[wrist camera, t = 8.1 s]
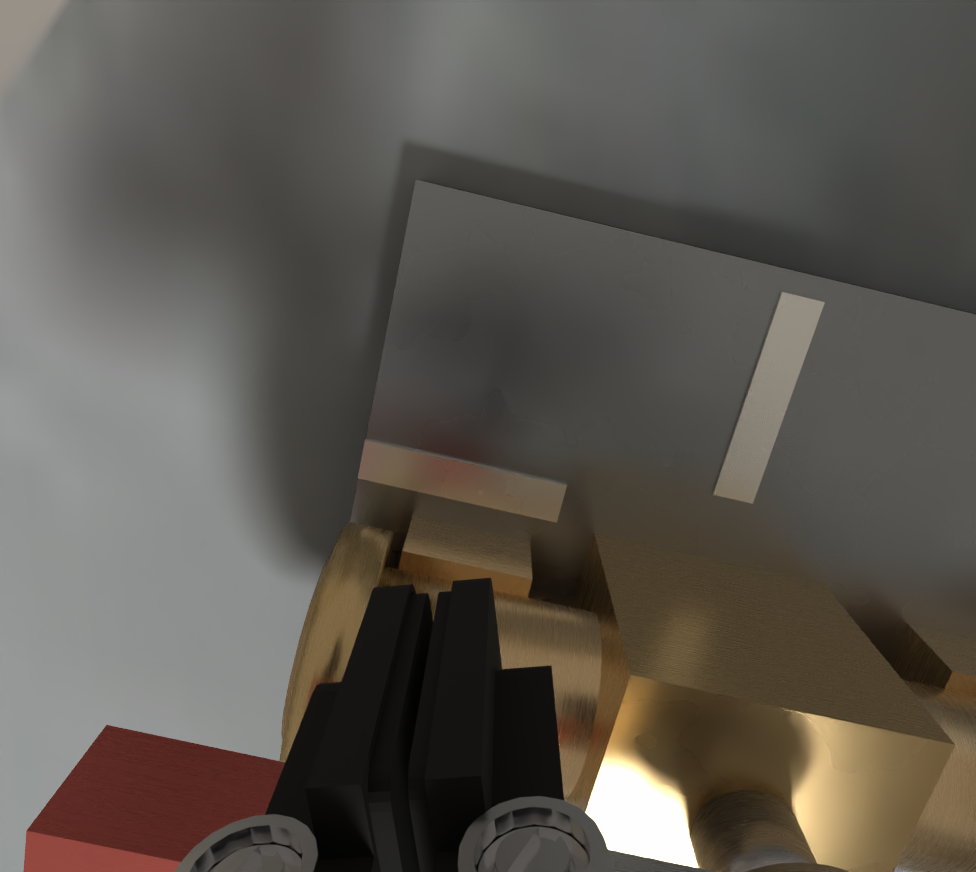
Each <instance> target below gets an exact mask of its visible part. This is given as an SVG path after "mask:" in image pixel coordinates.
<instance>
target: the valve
mask: <svg viewBox="0 0 976 872" xmlns="http://www.w3.org/2000/svg"><path fill="white" fill-rule="evenodd" d="M481 578H491V580H492V585H493V593H494V601H495V610H496V619H497V627H498V636H499V645H500V654H501V662H502V669H511V668H524V667H537V666H550V665H551V666H552V676H553V687H554V697H555V708H556V719H557V729H558V740H559V750H560V761H561V772H562V782H563V793H564V801H565V802H568V803H570V804H572V805H574V806H576V807H579V808H580V809H582V810H583V811H584V812H585V813H586V814H587V815H588V816H590V817H591V818H592V819H593V820H594V821H595V822H596V824H597V826H598V828H599V829H600V831H601V833H602V835H603V836H604V839H605V841H606V844H607V847H608V849H609V850H614V851H619V852H623V853H628V854H633V855H638V856H642V857H647V858H652V859H657V860H662V861H666V862H671V863H676V864H681V865H685V866H690V867H695V868H700V869H705V870H709V871H714V872H746V871H749V870H752V869H755V868H759V867H763V866H767V865H773V864H780V863H793V862H804V863H817V864H824V865H830V866H833V867H837V868H841V869H844V870H847V871H849V872H893V871H894V869H895V868H899V869H903V870H908V871H913V872H976V314H972V313H968V312H964V311H960V310H956V309H952V308H948V307H943V306H939V305H935V304H931V303H927V302H923V301H919V300H914V299H910V298H906V297H902V296H898V295H894V294H890V293H885V292H881V291H877V290H873V289H869V288H865V287H860V286H856V285H852V284H848V283H844V282H840V281H836V280H831V279H827V278H823V277H819V276H815V275H811V274H807V273H802V272H798V271H794V270H790V269H786V268H782V267H778V266H773V265H769V264H765V263H761V262H757V261H753V260H748V259H744V258H740V257H736V256H732V255H728V254H724V253H719V252H715V251H711V250H707V249H703V248H699V247H695V246H690V245H686V244H682V243H678V242H674V241H670V240H665V239H661V238H657V237H653V236H649V235H645V234H641V233H636V232H632V231H628V230H624V229H620V228H616V227H612V226H607V225H603V224H599V223H595V222H591V221H587V220H583V219H578V218H574V217H570V216H566V215H562V214H558V213H553V212H549V211H545V210H541V209H537V208H533V207H529V206H524V205H520V204H516V203H512V202H508V201H504V200H500V199H495V198H491V197H487V196H483V195H479V194H475V193H471V192H466V191H462V190H458V189H454V188H450V187H446V186H441V185H437V184H433V183H429V182H425V181H421V180H415V185H414V190H413V195H412V201H411V206H410V211H409V216H408V221H407V227H406V232H405V237H404V242H403V247H402V253H401V258H400V263H399V268H398V273H397V279H396V284H395V289H394V294H393V299H392V305H391V310H390V315H389V320H388V325H387V331H386V336H385V341H384V346H383V351H382V357H381V362H380V367H379V372H378V377H377V383H376V388H375V393H374V398H373V403H372V409H371V414H370V419H369V424H368V429H367V435H366V439H365V443H364V448H363V453H362V458H361V463H360V469H359V474H358V481H357V487H356V492H355V497H354V502H353V507H352V513H351V518H350V522H348V523H346V525H345V526H344V528H343V530H342V532H341V533H340V536H339V538H338V540H337V542H336V545H335V547H334V550H333V552H332V555H331V556H330V557H329V559H328V560H327V562H326V564H325V566H324V568H323V570H322V573H321V575H320V577H319V580H318V583H317V585H316V588H315V591H314V594H313V597H312V600H311V603H310V606H309V609H308V612H307V616H306V619H305V622H304V626H303V629H302V633H301V636H300V640H299V644H298V647H297V651H296V655H295V659H294V663H293V668H292V672H291V676H290V681H289V686H288V690H287V695H286V701H285V707H284V713H283V720H282V740H283V741H282V747H281V754H280V762H286V759H287V757H288V754H289V752H290V749H291V747H292V744H293V742H294V739H295V736H296V734H297V731H298V729H299V726H300V724H301V721H302V719H303V716H304V713H305V711H306V708H307V706H308V703H309V701H310V698H311V696H312V693H313V691H314V689H315V687H316V686H317V685H318V684H320V683H331V682H341V681H342V678H343V675H344V672H345V670H346V667H347V664H348V661H349V658H350V655H351V652H352V649H353V646H354V643H355V640H356V637H357V634H358V631H359V628H360V626H361V623H362V620H363V617H364V614H365V611H366V608H367V605H368V602H369V599H370V596H371V593H372V590H373V589H374V587H385V586H397V585H409V584H413V586H414V588H415V591H416V594H422V593H428V595H429V598H430V603H431V610H432V617H433V621H434V615H435V610H436V604H437V598H438V593H439V592H446V591H451V588H452V583H453V581H457V580H469V579H481Z"/></svg>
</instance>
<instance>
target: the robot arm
mask: <svg viewBox="0 0 976 872" xmlns="http://www.w3.org/2000/svg"><path fill="white" fill-rule="evenodd" d="M174 872H616V870H615V867H614V865H613V862H612V859H611V856H610V853H609V850H608V847H607V844H606V841H605V839H604V836H603V835H602V833H601V831H600V829H599V828H598V826H597V824H596V822H595V821H594V820H593V819H592V818H591V817H590V816H588V815H587V814H586V813H585V812H584V811H583V810H582V809H580V808H579V807H576V806H574V805H572V804H570V803H568V802H565V801H564V793H563V782H562V772H561V761H560V750H559V740H558V729H557V719H556V708H555V697H554V687H553V676H552V666H551V665H550V666H537V667H524V668H511V669H502V662H501V654H500V645H499V636H498V627H497V619H496V610H495V601H494V593H493V585H492V580H491V578H481V579H469V580H457V581H453V583H452V588H451V591H446V592H439V593H438V598H437V604H436V610H435V615H434V621H433V617H432V610H431V603H430V598H429V595H428V593H422V594H416V591H415V588H414V586H413V584H409V585H397V586H385V587H374V589H373V590H372V593H371V596H370V599H369V602H368V605H367V608H366V611H365V614H364V617H363V620H362V623H361V626H360V628H359V631H358V634H357V637H356V640H355V643H354V646H353V649H352V652H351V655H350V658H349V661H348V664H347V667H346V670H345V672H344V675H343V678H342V681H341V682H331V683H320V684H318V685H317V686H316V687H315V689H314V691H313V693H312V696H311V698H310V701H309V703H308V706H307V708H306V711H305V713H304V716H303V719H302V721H301V724H300V726H299V729H298V731H297V734H296V736H295V739H294V742H293V744H292V747H291V749H290V752H289V754H288V757H287V759H286V762H285V765H284V767H283V770H282V772H281V775H280V777H279V780H278V782H277V785H276V788H275V790H274V793H273V795H272V798H271V800H270V803H269V805H268V808H267V811H266V813H265V815H258V816H252V817H249V818H246V819H242V820H239V821H235V822H233V823H231V824H229V825H227V826H225V827H223V828H221V829H219V830H217V831H215V832H213V833H212V834H210V835H209V836H208V837H206V838H205V839H204V840H203V841H201V842H200V843H199V844H197V845H196V846H195V847H194V848H193V849H192V850H191V851H190V852H189V853H188V855H187V856H186V857H185V858H184V859H183V861H182V862H181V863H180V864H179V865H178V867H177V868H176V870H175V871H174Z"/></svg>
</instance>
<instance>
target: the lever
mask: <svg viewBox="0 0 976 872" xmlns="http://www.w3.org/2000/svg"><path fill="white" fill-rule="evenodd" d="M284 765H285V762H280V761H275V760H271V759H266V758H261V757H256V756H252V755H247V754H242V753H237V752H233V751H228V750H223V749H218V748H214V747H209V746H204V745H199V744H195V743H190V742H185V741H180V740H176V739H171V738H166V737H161V736H157V735H152V734H147V733H142V732H138V731H133V730H128V729H123V728H118V727H114V726H109V725H106V727H105V728H104V729H103V731H102V732H101V733H100V734H99V736H98V737H97V738H96V740H95V741H94V742H93V744H92V745H91V746H90V748H89V749H88V750H87V752H86V753H85V754H84V756H83V757H82V758H81V760H80V761H79V762H78V764H77V765H76V766H75V768H74V769H73V770H72V771H71V773H70V774H69V775H68V777H67V778H66V779H65V781H64V782H63V783H62V785H61V786H60V787H59V789H58V790H57V791H56V793H55V794H54V795H53V797H52V798H51V799H50V801H49V802H48V803H47V805H46V806H45V807H44V809H43V810H42V811H41V812H40V814H39V815H38V816H37V818H36V819H35V820H34V822H33V823H32V824H31V826H30V827H29V828H28V830H27V833H26V847H25V860H24V872H174V871H175V870H176V868H177V867H178V865H179V864H180V863H181V862H182V861H183V859H184V858H185V857H186V856H187V855H188V853H189V852H190V851H191V850H192V849H193V848H194V847H195V846H196V845H197V844H199V843H200V842H201V841H203V840H204V839H205V838H206V837H208V836H209V835H210V834H212V833H213V832H215V831H217V830H219V829H221V828H223V827H225V826H227V825H229V824H231V823H233V822H235V821H239V820H242V819H246V818H249V817H252V816H258V815H265V813H266V811H267V808H268V805H269V803H270V800H271V798H272V795H273V793H274V790H275V788H276V785H277V782H278V780H279V777H280V775H281V772H282V770H283V767H284ZM608 850H609V849H608ZM609 853H610V856H611V859H612V862H613V865H614V867H615V870H616V872H714V871H709V870H705V869H700V868H695V867H690V866H685V865H681V864H676V863H671V862H666V861H662V860H657V859H652V858H647V857H642V856H638V855H633V854H628V853H623V852H619V851H614V850H609ZM746 872H849V871H847V870H844V869H841V868H837V867H833V866H830V865H824V864H817V863H804V862H793V863H780V864H773V865H767V866H763V867H759V868H755V869H752V870H749V871H746Z"/></svg>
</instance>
